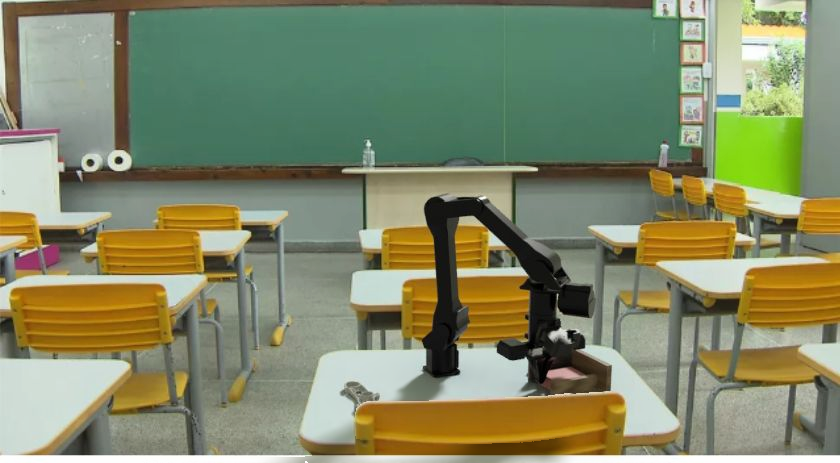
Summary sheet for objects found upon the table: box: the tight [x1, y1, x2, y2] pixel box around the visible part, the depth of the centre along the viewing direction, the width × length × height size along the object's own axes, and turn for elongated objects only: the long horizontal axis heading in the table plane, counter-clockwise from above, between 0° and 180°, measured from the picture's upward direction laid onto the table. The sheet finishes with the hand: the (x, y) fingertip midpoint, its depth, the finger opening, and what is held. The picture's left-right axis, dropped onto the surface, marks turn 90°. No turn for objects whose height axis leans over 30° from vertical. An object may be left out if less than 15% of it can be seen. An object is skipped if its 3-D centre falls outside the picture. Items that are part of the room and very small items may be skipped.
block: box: [539, 367, 585, 392], centre depth 161 cm, size 8×6×3 cm
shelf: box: [526, 349, 613, 395], centre depth 161 cm, size 12×16×6 cm
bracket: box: [343, 380, 381, 410], centre depth 153 cm, size 8×2×15 cm
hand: (540, 383), depth 159 cm, fingers closed
